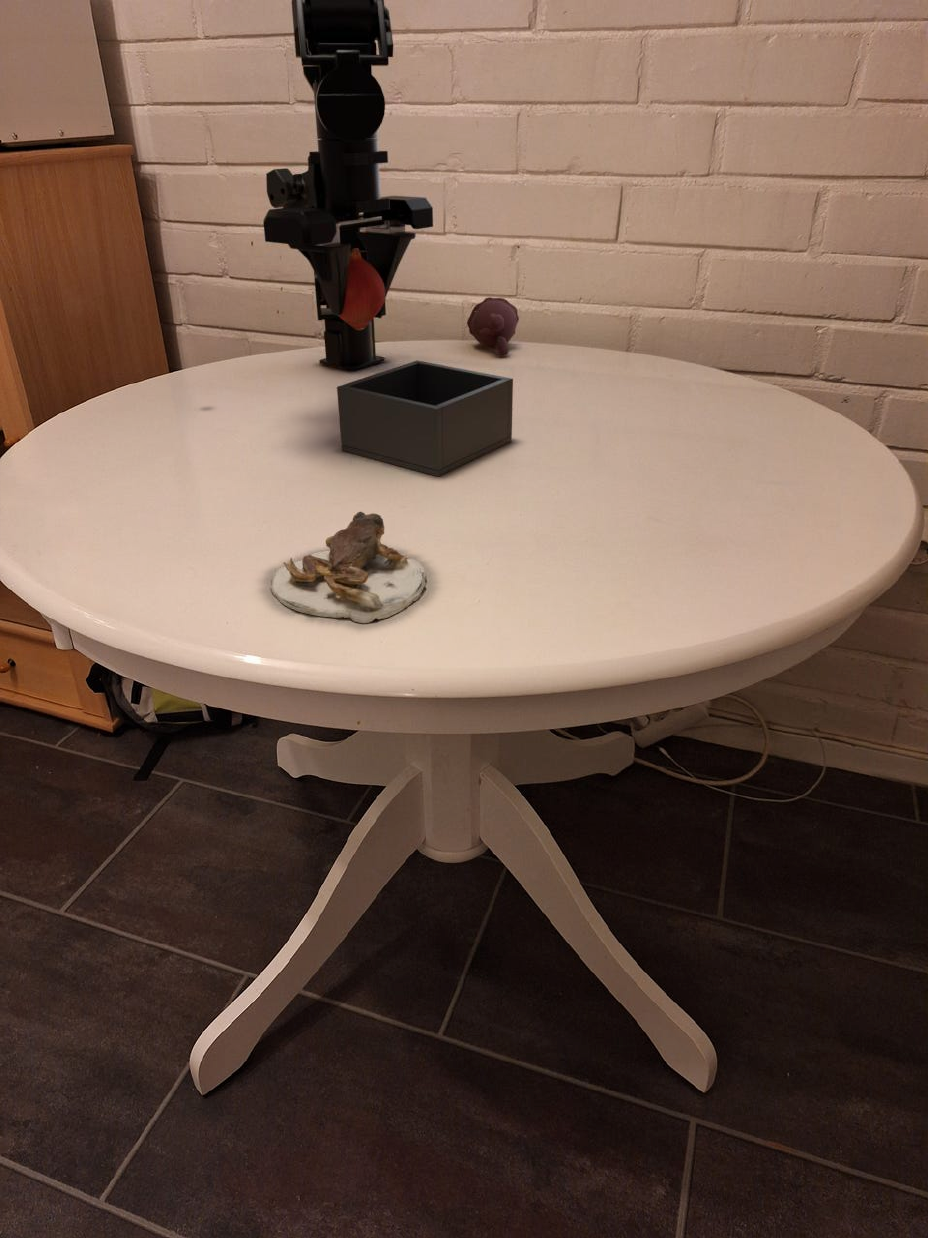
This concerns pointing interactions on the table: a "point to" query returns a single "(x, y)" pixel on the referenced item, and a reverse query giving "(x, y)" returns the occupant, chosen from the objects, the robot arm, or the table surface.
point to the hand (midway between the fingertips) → (358, 309)
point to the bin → (425, 416)
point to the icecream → (494, 323)
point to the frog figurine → (351, 576)
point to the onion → (362, 292)
